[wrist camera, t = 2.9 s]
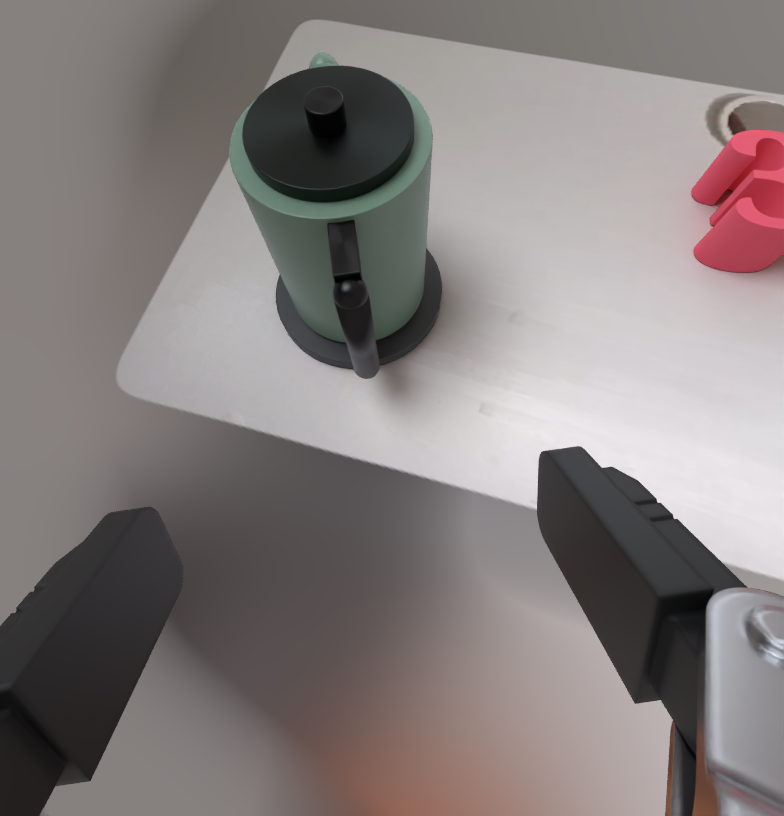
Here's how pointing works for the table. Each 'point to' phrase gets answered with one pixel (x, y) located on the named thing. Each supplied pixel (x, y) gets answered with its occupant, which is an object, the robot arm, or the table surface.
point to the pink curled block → (744, 203)
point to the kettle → (341, 198)
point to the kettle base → (386, 346)
